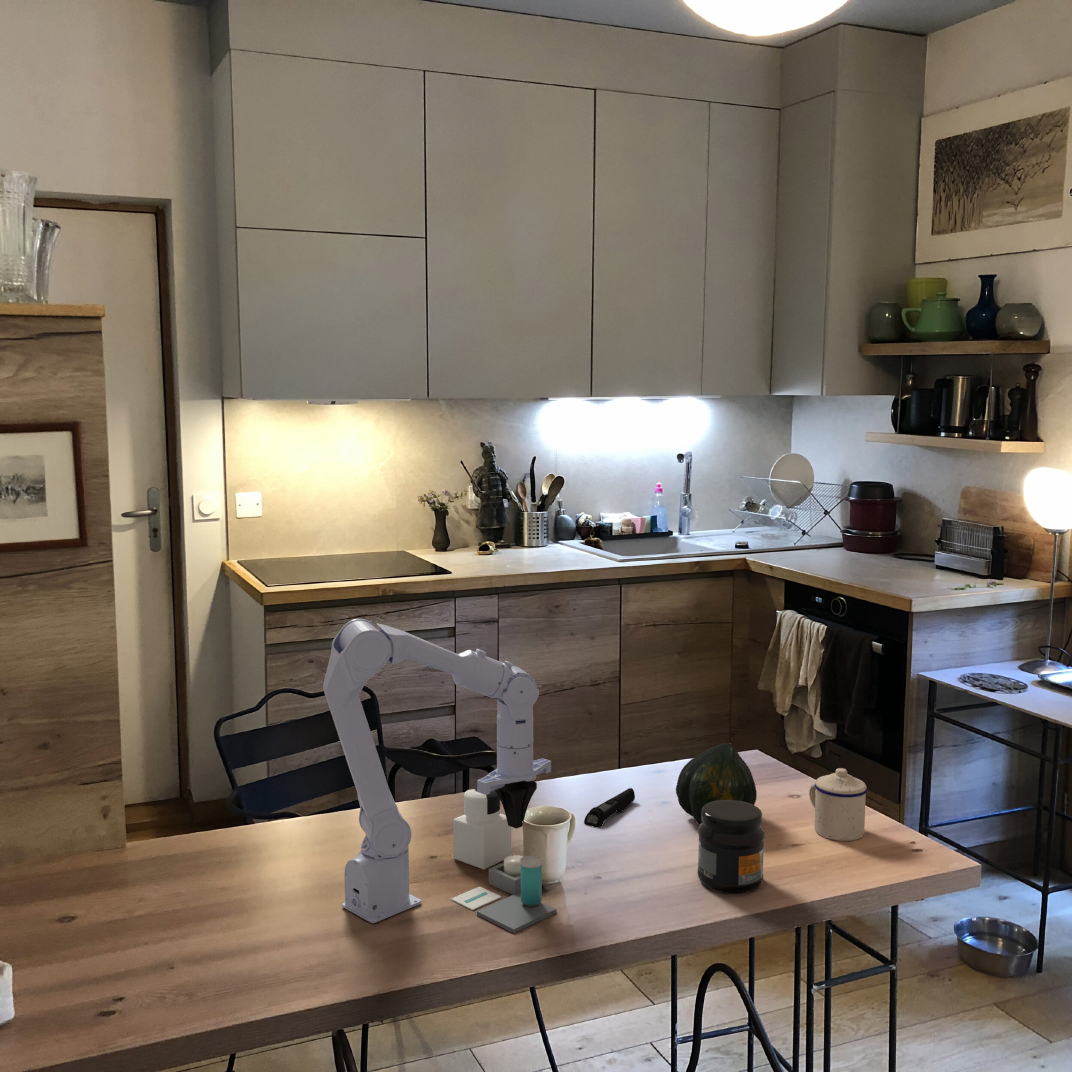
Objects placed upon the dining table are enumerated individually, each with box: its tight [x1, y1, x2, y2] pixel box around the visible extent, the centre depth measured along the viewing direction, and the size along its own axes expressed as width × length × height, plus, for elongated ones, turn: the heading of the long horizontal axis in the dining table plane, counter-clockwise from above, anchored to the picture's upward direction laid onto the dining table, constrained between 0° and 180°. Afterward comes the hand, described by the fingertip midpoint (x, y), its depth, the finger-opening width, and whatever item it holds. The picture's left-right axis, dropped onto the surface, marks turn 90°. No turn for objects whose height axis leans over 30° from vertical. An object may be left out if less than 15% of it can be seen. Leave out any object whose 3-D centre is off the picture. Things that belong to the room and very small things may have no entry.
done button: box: [503, 854, 524, 877], centre depth 173 cm, size 4×4×3 cm
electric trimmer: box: [583, 787, 636, 828], centre depth 203 cm, size 4×16×3 cm, turn 147°
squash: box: [675, 742, 758, 826], centre depth 199 cm, size 14×15×15 cm
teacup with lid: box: [808, 767, 868, 842], centre depth 194 cm, size 12×9×12 cm
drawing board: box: [476, 892, 557, 934], centre depth 163 cm, size 9×8×1 cm
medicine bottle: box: [452, 786, 512, 870], centre depth 182 cm, size 7×7×12 cm
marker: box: [520, 854, 543, 908], centre depth 164 cm, size 3×3×7 cm
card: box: [450, 886, 502, 911], centre depth 168 cm, size 6×5×1 cm
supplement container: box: [697, 800, 766, 895], centre depth 173 cm, size 10×10×12 cm
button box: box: [488, 862, 521, 896], centre depth 173 cm, size 6×6×2 cm
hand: (515, 825), depth 172 cm, fingers closed
